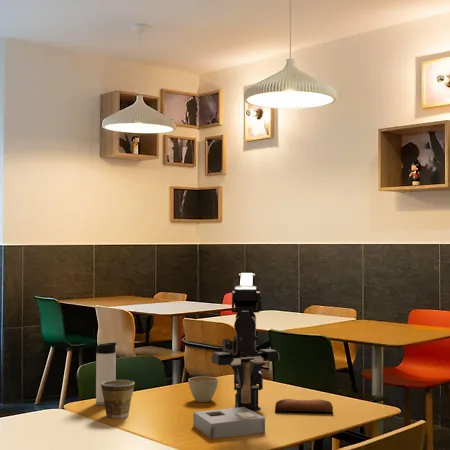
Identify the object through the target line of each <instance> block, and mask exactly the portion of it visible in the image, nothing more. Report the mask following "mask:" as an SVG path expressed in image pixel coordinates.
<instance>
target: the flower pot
mask: <svg viewBox="0 0 450 450" xmlns="http://www.w3.org/2000/svg"><path fill="white" fill-rule="evenodd" d="M187 382H188V385H189V389H190V392H191V394H192V397H193V398H194V400H195V402H197V403H208V402H211V401H212V399H213V397H214V396H215V393H216V391H217V388H218V382H219V379H218V378H217V377H215V376H194V377H190V378H188V380H187Z"/></svg>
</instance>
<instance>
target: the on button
mask: <svg viewBox="0 0 450 450" xmlns="http://www.w3.org/2000/svg"><path fill="white" fill-rule="evenodd" d="M237 416H238V417H240V418H242V419H248V418H255V415H253V414H251V413H249V412H245V413H237Z"/></svg>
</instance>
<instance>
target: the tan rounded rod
mask: <svg viewBox="0 0 450 450" xmlns="http://www.w3.org/2000/svg"><path fill="white" fill-rule="evenodd" d="M241 364H242V365H244V369H243V387H242V388H241V403H250V398H251V363H250V362H242V363H241Z"/></svg>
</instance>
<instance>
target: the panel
mask: <svg viewBox="0 0 450 450" xmlns="http://www.w3.org/2000/svg"><path fill="white" fill-rule="evenodd" d="M245 412H249V413H251V414H253V415H255V418H248V419H242V418H240V417H238V416H237V413H245ZM192 425H193V427H194V428H196V429H197V430H199V432H201V433H203V434H204V435H205V436H207V437H208V438H210V439H212V440H213V439H220V438H230V437H236V436H237V437H238V436H245V435H253V434H254V435H255V434H263V433H266V418H265V417H264V416H262V415H260V414H258V413H256V412H255V411H254V410H249V409H247V408H245V407H238V408H236V407H229V408H222V409H209V410H202V411H200V410H199V411H193V424H192Z"/></svg>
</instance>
